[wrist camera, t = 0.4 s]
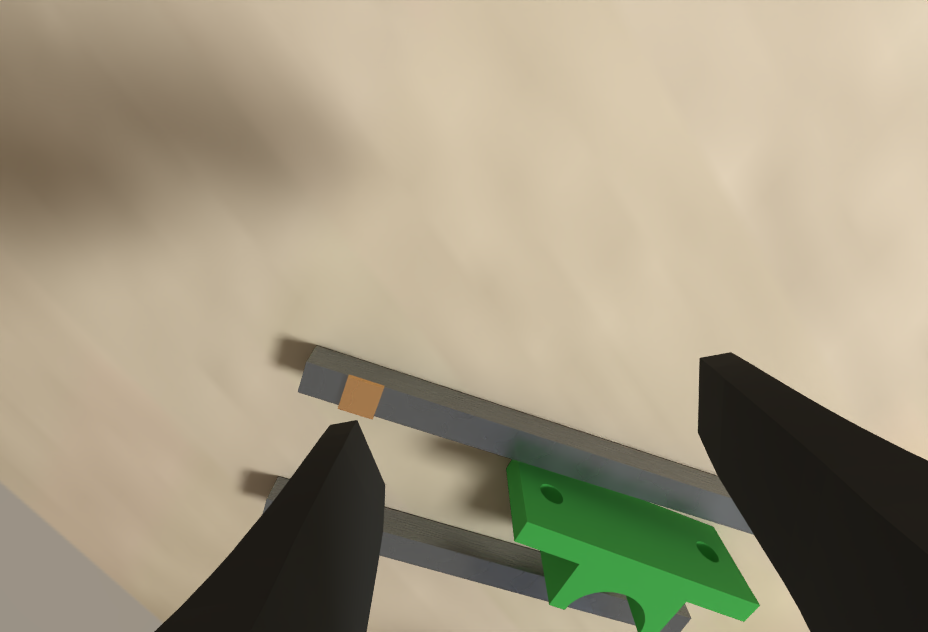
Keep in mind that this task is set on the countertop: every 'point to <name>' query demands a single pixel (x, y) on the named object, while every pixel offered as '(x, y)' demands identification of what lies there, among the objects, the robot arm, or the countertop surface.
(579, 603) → the guide track
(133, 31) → the countertop surface
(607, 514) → the pipe clamp
